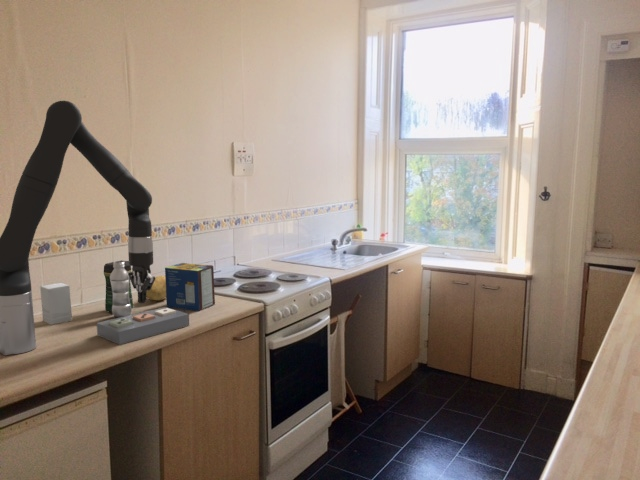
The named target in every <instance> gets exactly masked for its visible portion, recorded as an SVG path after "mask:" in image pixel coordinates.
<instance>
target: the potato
mask: <svg viewBox="0 0 640 480" xmlns="http://www.w3.org/2000/svg"><path fill="white" fill-rule="evenodd" d="M154 277H155V281H154V283H153V285H152V287H151V290H148V291H147V292H146V298H147V299H148V300H151V301H163V300H164V299H166V279H165V275H159V276H154Z"/></svg>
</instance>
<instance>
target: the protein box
mask: <svg viewBox="0 0 640 480" xmlns="http://www.w3.org/2000/svg"><path fill="white" fill-rule="evenodd" d="M164 274H165V275H164V276H165V279H166V297H165V302H166V307H167V308H171V309H182V310H190V311H195V312H200V311H202V310H205V309H208V308H209V307H211V306H214V305H216V304H215V303H216V299H215V297H216V296H215V295H216V294H215V277H214V275H215V274H214V265H212V264H209V265H208V264H199V263H198V264H197V263H185V262H181V263H177V264H174V265H169V266H165V267H164Z"/></svg>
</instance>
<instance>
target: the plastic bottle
mask: <svg viewBox="0 0 640 480" xmlns="http://www.w3.org/2000/svg"><path fill="white" fill-rule="evenodd" d="M124 261H125V260H122V261H121V260H116V261H112V262H113V268H114V270H113V271H112V273H111V274H110V282H111V286H112V292H113V305H112V313H111V314H112V316H113V317H114V318H120V317H125V316H129V315H132V309H133V308H131V304H130V299H129V275H128V272H127V271H126V270H125V269H124V267H125V262H124Z"/></svg>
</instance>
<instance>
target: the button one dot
mask: <svg viewBox="0 0 640 480" xmlns="http://www.w3.org/2000/svg"><path fill="white" fill-rule="evenodd" d="M169 308H170V307H167V308H166V309H161V310H157V311H155V314H157V315H160V316H167V315H171V314H175V313H176V310H177V309H174V310H172V309H173V308H171V309H169Z"/></svg>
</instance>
